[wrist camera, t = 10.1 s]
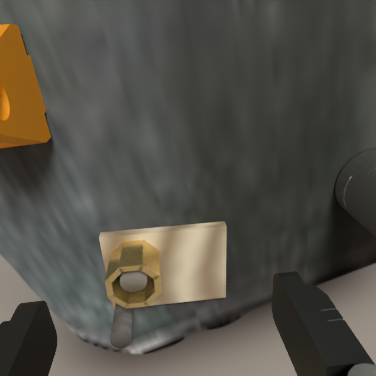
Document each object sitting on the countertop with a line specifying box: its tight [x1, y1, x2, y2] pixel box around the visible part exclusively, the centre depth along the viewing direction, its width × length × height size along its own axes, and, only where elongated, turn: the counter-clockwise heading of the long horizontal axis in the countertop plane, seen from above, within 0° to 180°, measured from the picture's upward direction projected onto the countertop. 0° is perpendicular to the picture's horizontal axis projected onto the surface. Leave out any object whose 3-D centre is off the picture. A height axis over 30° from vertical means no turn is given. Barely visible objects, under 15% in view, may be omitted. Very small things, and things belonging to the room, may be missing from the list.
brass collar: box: [105, 240, 162, 309], centre depth 39 cm, size 6×6×5 cm
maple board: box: [99, 221, 226, 348], centre depth 40 cm, size 16×12×8 cm
